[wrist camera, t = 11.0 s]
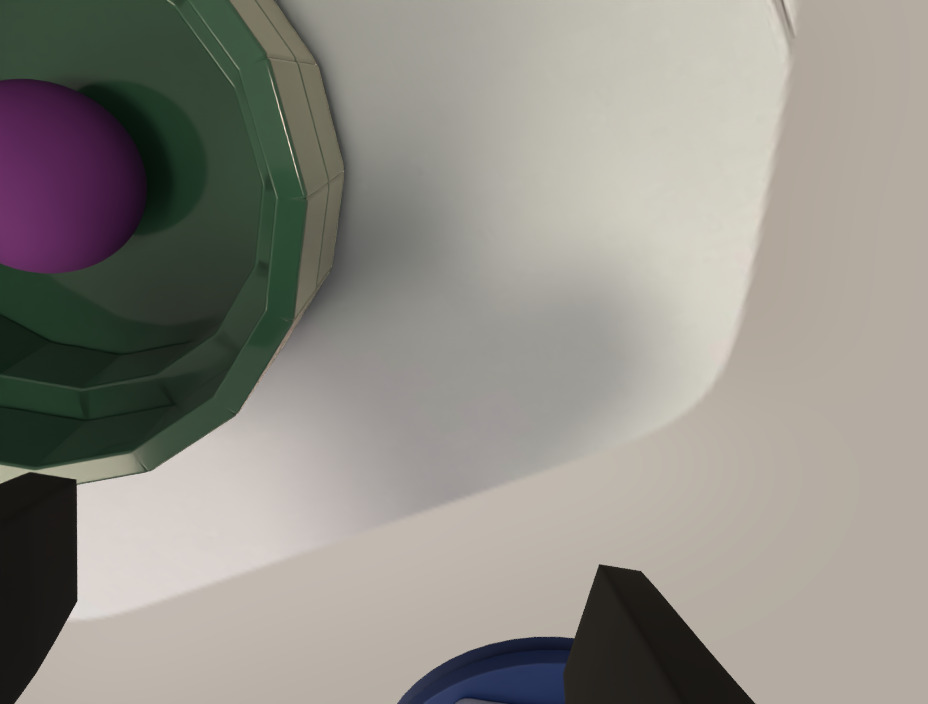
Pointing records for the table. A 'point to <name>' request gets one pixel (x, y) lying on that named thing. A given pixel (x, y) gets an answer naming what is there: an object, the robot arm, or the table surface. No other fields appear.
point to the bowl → (169, 231)
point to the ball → (64, 179)
